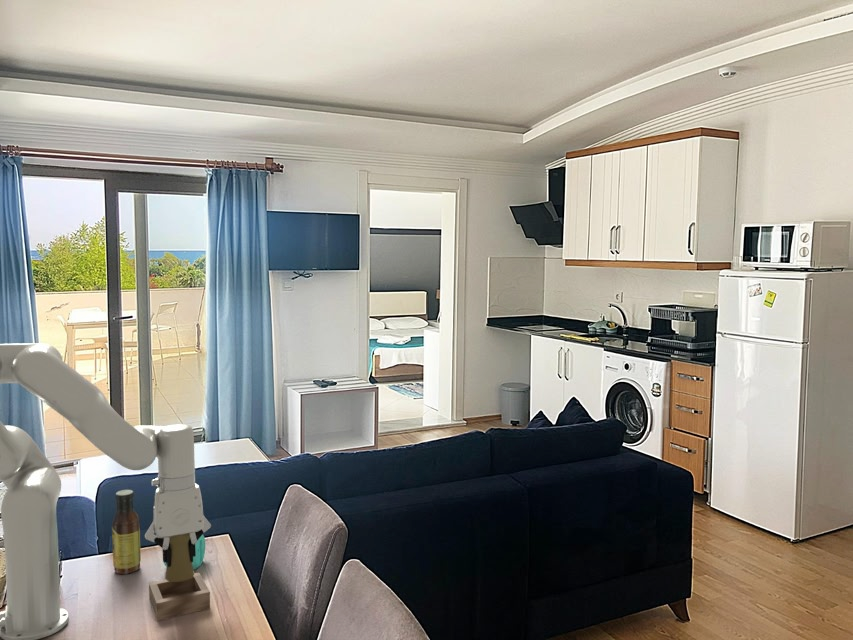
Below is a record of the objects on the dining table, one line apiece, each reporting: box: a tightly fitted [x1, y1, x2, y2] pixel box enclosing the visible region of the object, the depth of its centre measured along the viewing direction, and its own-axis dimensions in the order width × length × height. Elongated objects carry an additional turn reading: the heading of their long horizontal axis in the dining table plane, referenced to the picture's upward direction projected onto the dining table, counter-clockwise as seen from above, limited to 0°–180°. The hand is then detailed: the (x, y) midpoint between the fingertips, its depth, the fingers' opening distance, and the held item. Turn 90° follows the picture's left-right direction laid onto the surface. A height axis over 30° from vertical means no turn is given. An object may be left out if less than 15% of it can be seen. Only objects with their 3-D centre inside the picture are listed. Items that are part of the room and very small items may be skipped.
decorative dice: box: [163, 534, 206, 570], centre depth 174 cm, size 8×8×8 cm
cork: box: [164, 533, 195, 582], centre depth 154 cm, size 6×6×11 cm
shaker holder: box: [148, 572, 211, 622], centre depth 154 cm, size 11×11×4 cm
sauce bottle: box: [111, 489, 142, 575], centre depth 171 cm, size 7×6×20 cm
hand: (179, 561), depth 154 cm, fingers closed on cork, 4 cm apart
